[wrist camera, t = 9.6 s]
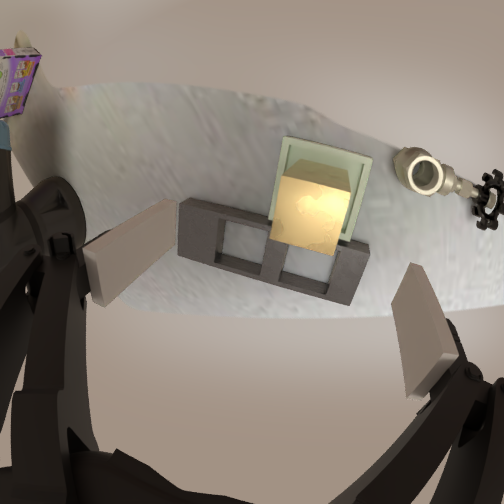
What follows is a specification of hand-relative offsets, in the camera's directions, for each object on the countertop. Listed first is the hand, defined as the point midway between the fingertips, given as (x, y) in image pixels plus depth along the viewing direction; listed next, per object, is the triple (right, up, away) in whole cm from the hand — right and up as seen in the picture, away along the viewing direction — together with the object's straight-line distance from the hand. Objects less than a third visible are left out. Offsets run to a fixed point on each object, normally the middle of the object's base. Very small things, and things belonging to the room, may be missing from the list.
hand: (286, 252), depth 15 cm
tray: (+5, +7, +14) cm, 17 cm away
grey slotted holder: (0, +1, +19) cm, 19 cm away
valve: (+18, +8, +10) cm, 22 cm away
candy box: (-46, +34, +19) cm, 61 cm away
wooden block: (+5, +7, +14) cm, 16 cm away
